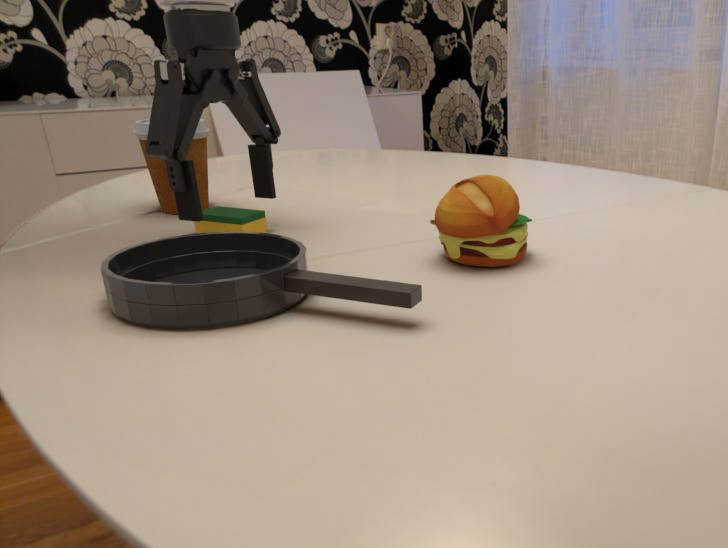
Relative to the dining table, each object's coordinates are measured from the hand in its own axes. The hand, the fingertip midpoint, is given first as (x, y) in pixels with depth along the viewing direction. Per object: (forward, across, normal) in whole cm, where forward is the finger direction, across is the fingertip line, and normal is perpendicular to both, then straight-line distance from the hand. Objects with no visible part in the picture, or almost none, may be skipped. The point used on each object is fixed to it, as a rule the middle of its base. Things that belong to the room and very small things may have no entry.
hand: (231, 208), depth 81 cm
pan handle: (+2, -19, -27) cm, 33 cm away
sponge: (+3, 0, 0) cm, 3 cm away
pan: (+4, -19, -13) cm, 23 cm away
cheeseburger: (+4, +2, -32) cm, 32 cm away
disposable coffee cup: (+3, +10, +16) cm, 19 cm away
